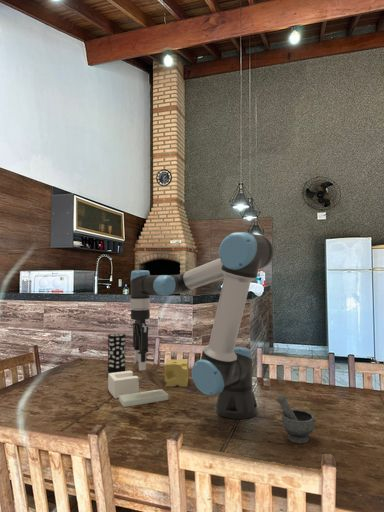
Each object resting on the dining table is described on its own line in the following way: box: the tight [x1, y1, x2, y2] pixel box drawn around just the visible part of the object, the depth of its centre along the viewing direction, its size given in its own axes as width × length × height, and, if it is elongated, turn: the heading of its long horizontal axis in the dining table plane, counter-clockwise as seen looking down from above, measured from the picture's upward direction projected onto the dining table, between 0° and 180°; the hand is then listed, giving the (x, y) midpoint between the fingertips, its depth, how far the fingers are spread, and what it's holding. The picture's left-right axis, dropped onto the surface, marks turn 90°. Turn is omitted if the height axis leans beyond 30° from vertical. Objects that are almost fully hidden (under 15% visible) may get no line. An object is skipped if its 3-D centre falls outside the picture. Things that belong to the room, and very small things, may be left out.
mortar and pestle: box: [276, 395, 316, 444], centre depth 111 cm, size 11×9×12 cm
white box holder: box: [107, 370, 140, 399], centre depth 154 cm, size 10×12×7 cm
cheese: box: [164, 358, 189, 388], centre depth 166 cm, size 10×11×10 cm
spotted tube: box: [107, 332, 126, 374], centre depth 178 cm, size 8×8×20 cm
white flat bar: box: [118, 388, 169, 408], centre depth 144 cm, size 8×18×2 cm, turn 115°
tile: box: [132, 361, 167, 390], centre depth 146 cm, size 14×5×3 cm
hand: (140, 368), depth 144 cm, fingers open, 5 cm apart
